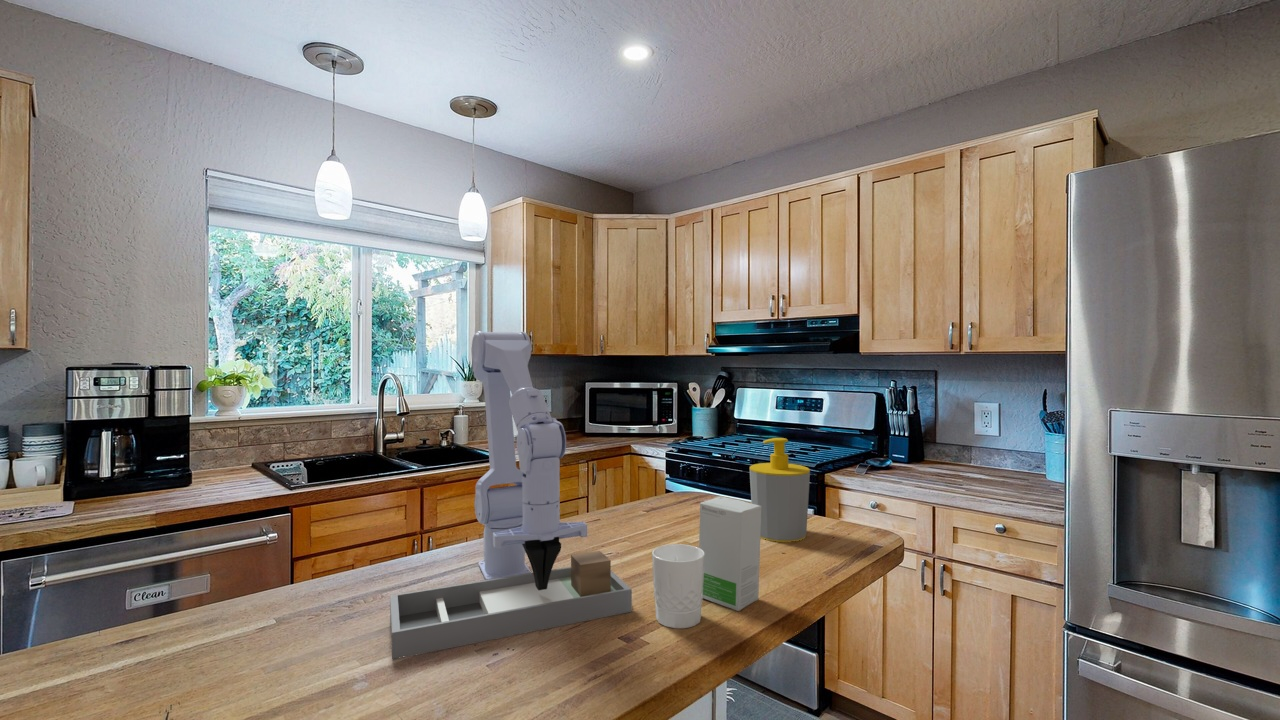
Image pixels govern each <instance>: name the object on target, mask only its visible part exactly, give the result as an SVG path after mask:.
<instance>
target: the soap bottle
mask: <svg viewBox="0 0 1280 720" xmlns="http://www.w3.org/2000/svg"><path fill="white" fill-rule="evenodd" d="M787 442H789V440H788V439H787V438H786V437H785V438H784V437H772V438H768V439H765V440H763V441H762V443H763V444H771V443H772V444H773V453H770V456H769V458H770V462H763V463H762V462H759V463H755V464H752V465H750V466H749V483H750V484H749V485H750V499H751V500H750V503H751V504H755V505H759V506H761V534H760V539H761V538H762V539H761V540H764V539H766V540H765V541H768V540H769V541H770V542H774V541H776V542H775V543H792V542H791V541H796V542H799V540H800V541H803V540H805V539H804V538H806V537H807V531H808V510H809V496H810V495H809V494H810V480H811V479H810V477H811V475H810V474H811V470H810V468H809V467H808V466H807V467H806V466H805V465H801V464H795V463H789V455H788V454H787V453H785V451H786V449H785V448H786V447H785V446H786V445H785V443H787ZM802 539H803V540H802ZM769 541H768V542H769Z"/></svg>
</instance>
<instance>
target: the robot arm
mask: <svg viewBox="0 0 1280 720" xmlns="http://www.w3.org/2000/svg"><path fill="white" fill-rule="evenodd" d="M470 350H471V365H472V372H473V377H474V379H476V380H478V381H481V383H482V387H483V393H484V394H483V395H484V404H485V406H484V407H485V419H486V420H485V421H486V430H487V431H486V432H487V433H486V434H487V446H488V447H487V448H488V457H489V458H488V461H489V470H487V472H485V474H484V475H482V476H481V477H480V478H479V479H478V481H476V483H475V487H474V488H475V489H474V490H475V496H474V513H475V516H476V519H477V521H478V522H479V524H481V525H483V526H484V530H483V561H482V560H480V561H478V567H479V569H480V570H481V572H482V575H483V578H484V580H490V579H496V578H503V577H509V576H515V575H522V574H528V573H533V574H534V579H535V586H536V588H537V589H538V590H544V589H547V586H548V581H549V577H550V573H551V570H553V566H554V564H555V562H556V561H557V560H556V559H557V558H558V556H559V554H560V553H561V550H562V543H561V542H560V540H561V539H570V538H575V537H580V538H586V537H588V524H587V523H586V522H585V521H575V522H573V521H572V522H570V521H569V522H561V521H560V520H561V517H560V514H561V512H560V510H561V508H560V507H561V503H560V497H561V495H560V494H561V493H560V490H561V489H560V487H561V486H560V485H561V480H560V479H561V478H560V476H561V475H560V474H561V473H560V471H561V469H560V468H561V467H560V463H561V461H560V460H561V459H563V457H564V455H565V453H566V450H567V436H566V435H567V434H566V431H565V428H564V425H563V423H562V422H560V421H558V420H557V418H556V417H552V415H551V413H550V409H549V407H548V405H547V403H546V400H545V398H544V395H543V393H542V391H540V389H537V388H535V387H533V382H532V379H531V374H530V371H529V366H528V365H529V361H530V359H531V355H532V341H531V338H530V336H529V335H528V333H527V332H525V331H521V332H507V331H506V332H505V331H504V332H502V331H501V332H500V331H496V332H495V331H482V330H477V331H476V332H475V334H473V337H472V341H471V349H470ZM513 423H514V424H515V427H516V431H517V435H516V446H515V435H514V424H513ZM515 447H516V449H515ZM516 451H517V455H518V463H519V464H518V465H519V468H518V467H517V459H516V457H517V456H516ZM507 484H508V486H501V487H499V486H500V485H507ZM509 484H514V485H509ZM498 485H499V486H498ZM492 486H498V487H492ZM526 555H527V558H528V560H529V563H530V564H529V565H530V567H531V569H532V571H531V569H530V568H529V567H528V565H527V564H526Z"/></svg>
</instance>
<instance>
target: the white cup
mask: <svg viewBox="0 0 1280 720" xmlns="http://www.w3.org/2000/svg"><path fill="white" fill-rule="evenodd" d="M651 557H652V559H651V560H652V579H653V580H652V581H653V591H654V593H653V594H654V601H655V607H654V608H655V619H656V620H657V622H658V623H659V624H661V625H662V626H664V627H666V628H667V627H668V628H673V629H689V628H692V627H695V626H696V625H698V624H699V623H700V622H701V617H702V603H703V599H704V598H703V583H704V558H705V553H704V551H703V550H702V549H700V548H699V546H695V545H690V544H683V543H682V544H681V543H671V544H670V543H669V544H663V545H660V546H657V547H655V548H654V549H653V550H652V552H651Z"/></svg>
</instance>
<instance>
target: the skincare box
mask: <svg viewBox="0 0 1280 720" xmlns="http://www.w3.org/2000/svg"><path fill="white" fill-rule="evenodd" d="M698 530H699V531H698V533H699V534H698V548H700V549H702V550H703V551H704V553H705V558H704V583H703V598H702V599H705V600H707V601H709V602H712V603H715V604H718V605H720V606H723V607H726V608H728V609H731V610H734V611H737V612H740V611H741V610H743V609H745V608H746V607H748V606H750V605H752V603H755V602H756V601H758V600H759V592H760V591H759V590H760V563H761V562H760V559H761V554H760V553H761V538H760V534H761V506H759V505H755V504H752V503H751V502H747V501H743V500H741V499H733V498H729V497H724V496H717V497H715V498H711V499H708V500H705V501H702V502H700V503H699V528H698Z"/></svg>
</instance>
